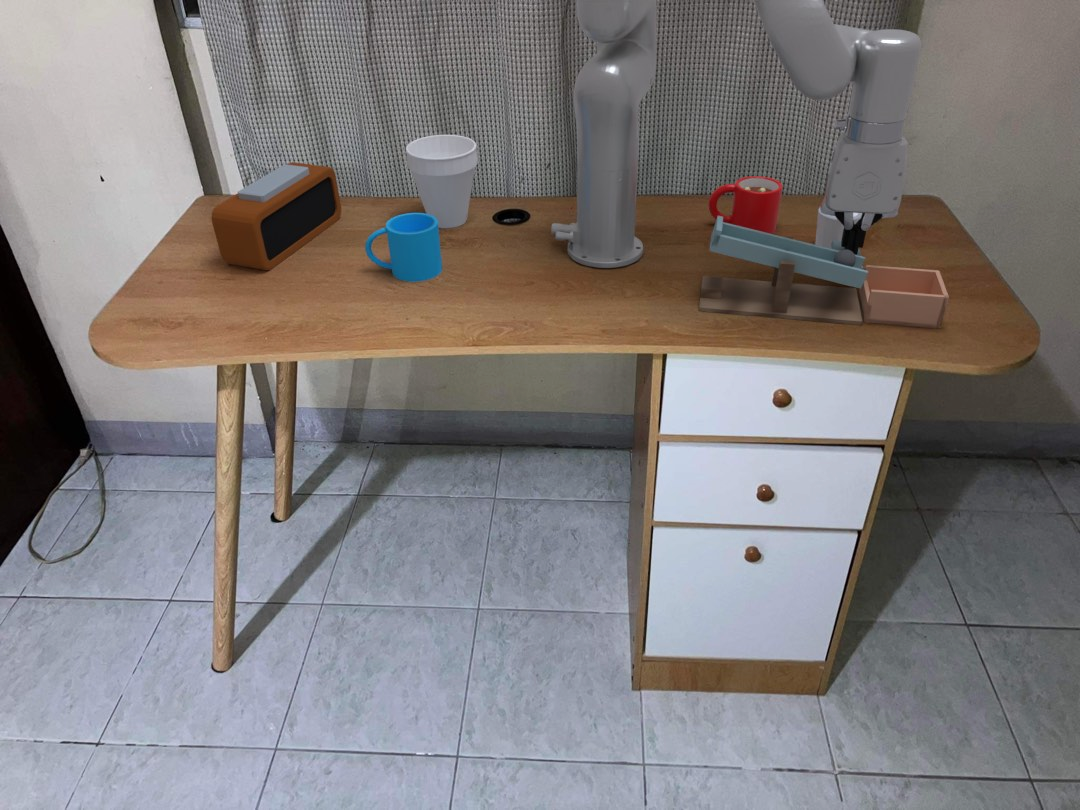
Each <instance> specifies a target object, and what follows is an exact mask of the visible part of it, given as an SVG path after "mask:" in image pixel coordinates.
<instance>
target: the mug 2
mask: <svg viewBox="0 0 1080 810" xmlns="http://www.w3.org/2000/svg"><path fill="white" fill-rule="evenodd" d="M729 193H733V198H732V199H733V200H732V208H731V214H729V215H728V214H723V213H722V212H720V211H719V209H718V201H719V199H720V198H721V196H723V195H725V194H729ZM782 193H783V184H782V183H781V182H780V181H779V180H777V179H774V178H771V177H768V176H760V175H754V176H753V175H752V176H751V175H750V176H745V177H744V176H743V177H741V178H739V179H738V180H736V182H735V183H727V184H723V185H721V186H718V188H716V189H715V190H714V191H713V192H712V193H711V195H710V197H709V200H708V211H709V213H710V215H711V216H712V218H713V219H714V220H717V217H718V216H722V217H723V222H725V223H729V224H733V225H737V226H741V227H745V228H749V229H753V230H757V231H761V232H765V233H769V234H773V235H774V233H775V232H776V231H777V224H778V219H779V211H780V207H781V199H782Z"/></svg>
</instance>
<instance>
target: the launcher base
mask: <svg viewBox="0 0 1080 810" xmlns="http://www.w3.org/2000/svg"><path fill="white" fill-rule="evenodd" d="M785 237H786V238H790V239H794V237H793V236H785ZM794 268H795V261H782V260H780V265H779V268H776V267H773V272H772V279H771V280H770V281H769V280H758V279H757V280H756V279H743V278H734V277H733V278H731V277H730V278H729V277H721V276H711V275H710V276H709V275H702V279H701V287H700V296H699V297H700V298H699V307H698V311H699V312H707V313H719V314H728V315H729V314H730V315H739V316H740V315H741V316H752V317H753V316H754V317H762V318H763V317H764V318H774V319H775V318H776V319H786V320H787V319H788V320H796V321H798V320H799V321H810V322H819V323H820V322H821V323H834V324H841V325H842V324H845V325H856V326H863V325H862V324H863V315H862V310H861V305H860V299H859V294H858V292H857V288H856V287H844V286H843V287H842V286H830V285H819V284H808V283H807V284H806V283H794V282H793V278H794V273H795V272H794Z"/></svg>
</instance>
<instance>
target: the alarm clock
mask: <svg viewBox="0 0 1080 810" xmlns="http://www.w3.org/2000/svg"><path fill="white" fill-rule="evenodd" d="M336 176H337V175H336V172H335V169H333V168H332V167H330V166H323V165H319V164H318V165H317V164H308V163H301V162H293V161H292V162H289V163H285V164H282V165H281V166H279V167H278V168H276V169H274V170H272V171H270V172H269V173H267V174H265V175H264V176H262V177H261V178H259V179H257V180H255V181H254V182H251V184H248V185H247V186H245V187H244V188H242V189H240V190H238V191H237V193H236V194H234V195H233V196H231V197H229V198H228V199H226V200H224V201H222V202H220V203H219V204H218V205H216V206H215V207H214V208H213V209H212V212H211V217H210V218H211V223H212V228H213V231H214V234H215V235H214V236H215V238H216V242H217V246H218V250H219V254H220V256H221V259H222V260H223V261H224V262H225V263H226V264H229V265H234V266H239V267H245V268H251V269H255V270H256V269H257V270H262V271H267V272H268V271H270V270H273V269H274V268H276V267H277V266H278V265H280V264H281V263H283V262H284V261H285V260H287V259H288V258H289V257H290V256H293V254H294V253H296V252H298V251H299V250H300V249H301V248H303V247H304V246H306V245H307V244H309V243H310V242H311V241H312V240H314V239H315V238H316V237H318V236H320V234H322V233H323V232H326V230H327V229H330V228H331V227H332V226H333V225H334V224H335V223H337V222H338V221H339V220H340V217H341V216H342V204H341V199H340V193H339V186H338V180H337V177H336Z"/></svg>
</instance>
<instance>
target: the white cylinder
mask: <svg viewBox="0 0 1080 810" xmlns="http://www.w3.org/2000/svg"><path fill="white" fill-rule="evenodd" d="M861 214H862V213H853V220H854V224H856V222H858V220H859V219H860V216H861ZM843 230H844V226H843V225H842V223H841V222H840V221H839V220H838V219H837V218H836V217H835V216H830V215H827V214H823V213H821V210H820V206H819V208H818V210H817V220H816V232H815V241H814V245H818V246H822V247H826V248H830V249H832V247H831V243H832V240H833V239H834V240H838V241H842V235H843Z"/></svg>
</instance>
